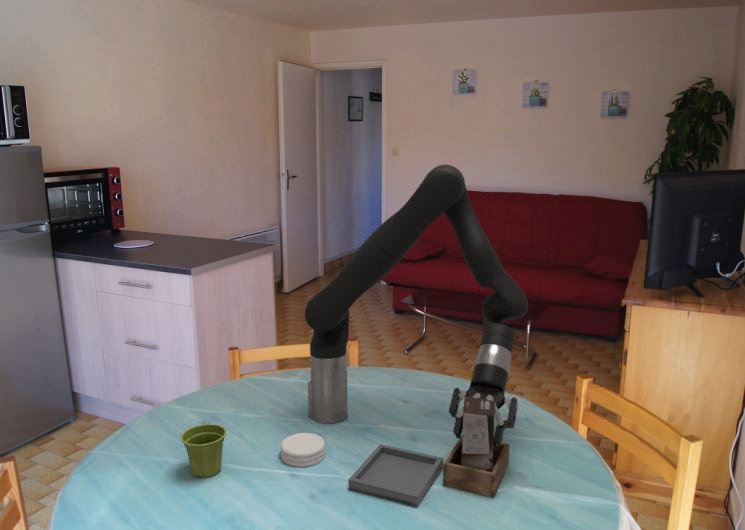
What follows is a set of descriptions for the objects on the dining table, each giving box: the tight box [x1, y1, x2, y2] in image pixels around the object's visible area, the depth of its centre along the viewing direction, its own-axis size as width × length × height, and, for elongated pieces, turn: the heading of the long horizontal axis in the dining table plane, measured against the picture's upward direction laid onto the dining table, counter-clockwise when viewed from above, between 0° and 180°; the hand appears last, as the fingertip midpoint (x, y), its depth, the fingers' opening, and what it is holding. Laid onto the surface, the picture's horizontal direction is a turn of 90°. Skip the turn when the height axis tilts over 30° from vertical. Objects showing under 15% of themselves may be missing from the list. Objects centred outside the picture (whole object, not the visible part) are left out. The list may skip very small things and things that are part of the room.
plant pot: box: [180, 423, 227, 479], centre depth 131 cm, size 9×9×9 cm
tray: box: [348, 443, 444, 508], centre depth 129 cm, size 15×16×2 cm
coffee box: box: [461, 396, 495, 472], centre depth 128 cm, size 9×6×16 cm
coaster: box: [280, 432, 326, 468], centre depth 138 cm, size 10×10×4 cm
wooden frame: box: [442, 435, 510, 499], centre depth 129 cm, size 11×14×5 cm
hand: (476, 441), depth 127 cm, fingers closed on coffee box, 7 cm apart
